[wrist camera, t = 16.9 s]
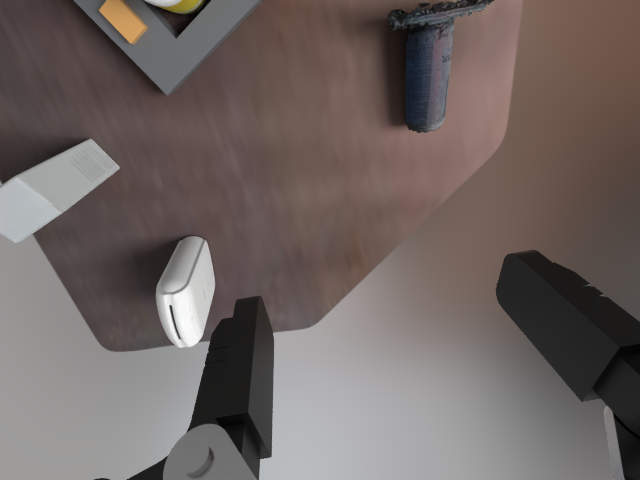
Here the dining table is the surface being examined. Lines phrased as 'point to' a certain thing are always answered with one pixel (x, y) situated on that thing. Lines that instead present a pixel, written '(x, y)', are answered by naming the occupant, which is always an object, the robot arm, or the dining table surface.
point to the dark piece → (429, 59)
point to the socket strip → (167, 35)
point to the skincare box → (51, 188)
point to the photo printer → (186, 292)
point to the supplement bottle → (179, 5)
